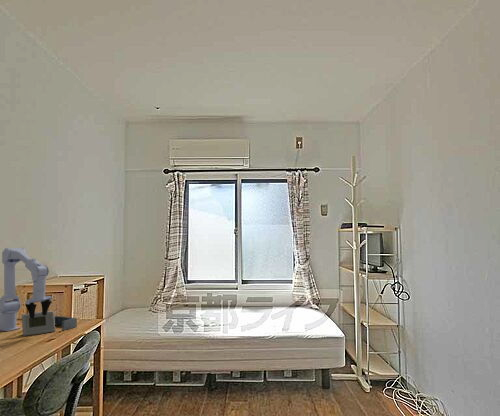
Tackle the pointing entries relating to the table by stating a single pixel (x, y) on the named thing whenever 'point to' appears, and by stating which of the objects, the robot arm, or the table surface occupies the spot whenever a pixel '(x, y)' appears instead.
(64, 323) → the end cap
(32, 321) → the digital clock
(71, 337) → the table surface
